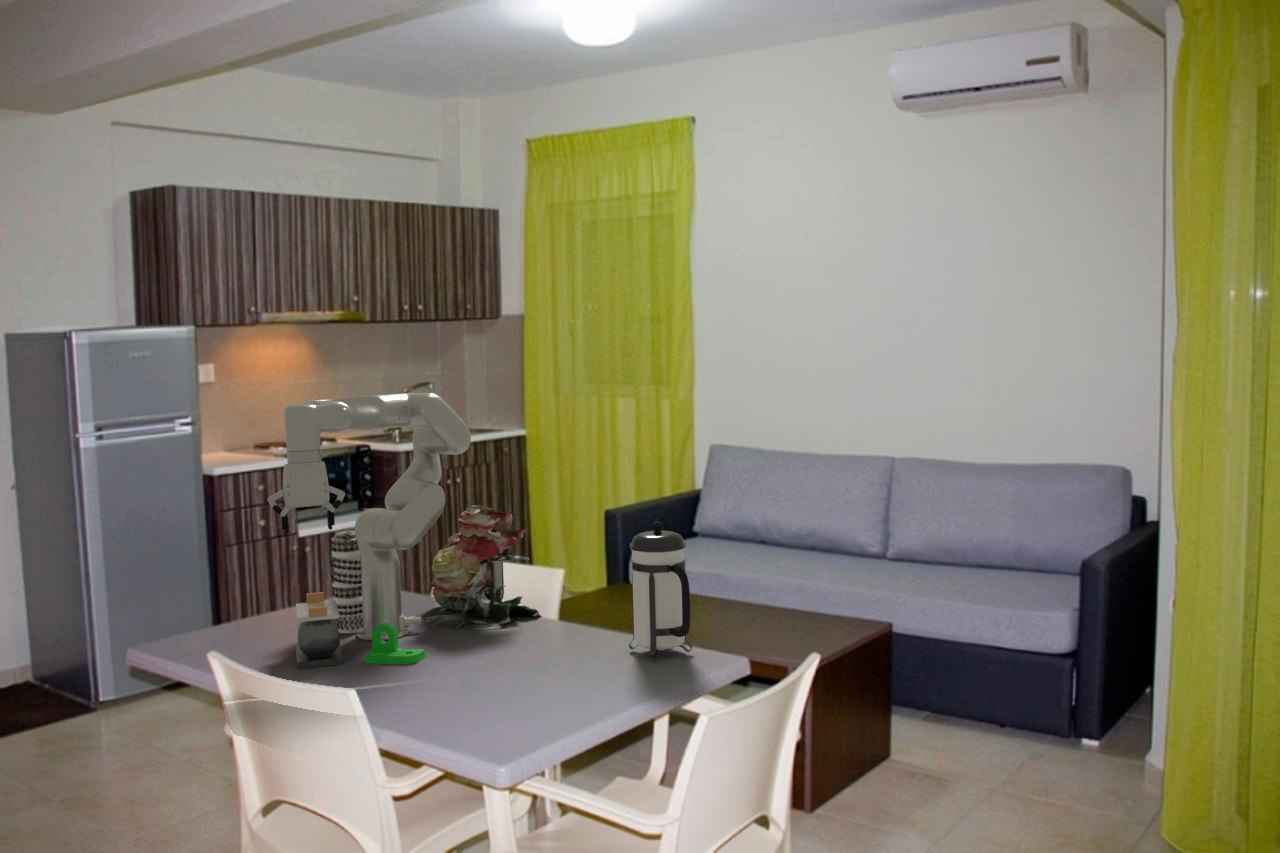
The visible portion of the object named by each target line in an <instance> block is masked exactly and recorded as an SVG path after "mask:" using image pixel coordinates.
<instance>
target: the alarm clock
mask: <svg viewBox="0 0 1280 853" xmlns="http://www.w3.org/2000/svg"><path fill="white" fill-rule="evenodd" d="M493 566H495V567H493ZM492 567H493V568H492V577H493V578H494V582H495V587H496V589H497V588H498V587H500V586H505V584H504V561H492ZM432 574H433V573H432ZM434 576H435V575H434V574H433V579H434V578H436V577H434ZM434 588H435V587H433V589H434ZM444 591H446V590H444ZM500 593H501V600H502V601H503V599H504V595H505V587H503V588H502V589H501V592H500ZM486 594H487V593H484V595H486ZM462 599H463V598H458V599H457V601H456V602H453V601H450V602H448V603H446V604H445V606H444V607H445V608H447V609H449V610H452V611H455V612H461V613H463V603H462ZM434 600H435V603H437V605H439V606H441V607H442V606H443V605H444V603H445V602H444V600H437V599H436V598H435V597H434ZM473 610H474V605H473V603H472V601H471V600H470V601H469V602H468V606H467V610H466V612H468V611H473Z"/></svg>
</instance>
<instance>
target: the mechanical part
mask: <svg viewBox="0 0 1280 853" xmlns="http://www.w3.org/2000/svg"><path fill="white" fill-rule="evenodd" d="M382 632H385V633H387V635H388V637H389V639H388V641H386V640H382V638H381V633H382ZM371 647H372V648H371V651H369V652H368V653H366V654H365V655H364V659H365V660H364V661H365V664H379V665H380V664H383V665H385V664H386V665H388V664H389V665H411V664H416V663H419V662H421V661H422V660H424V659H425V658H426V649H421V648H420V649H419V648H417V649H416V648H411V649H409V648H401V647H400V645H399V638H398V633H397V630H396V629H395V627H394V626H393V625H391V624H389V623H383V624H381V625H379V626H377V627H376V628H375V629H374V630H373V632H372V640H371Z"/></svg>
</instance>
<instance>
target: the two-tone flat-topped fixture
mask: <svg viewBox="0 0 1280 853" xmlns="http://www.w3.org/2000/svg"><path fill="white" fill-rule="evenodd" d="M305 595H306V602H300V603H295V610H296V621H297V623H296V629H297V642H298V644H295V655H296V668H297V670H301V669H303V670H304V669H311V668H320V667H322V668H323V667H331V666H338V665H339V666H340V665H344V656H343V651H342V647H341V642H340V641H341V640H340V639H341V638H340V633H339V631H338V627H337V622H336V619H337V618H339V613H338V609H337V605H336V601H335V600H334V599H333V600H331V599H330V600H325V592H324V591H319V592H308V593H306V594H305Z"/></svg>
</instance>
